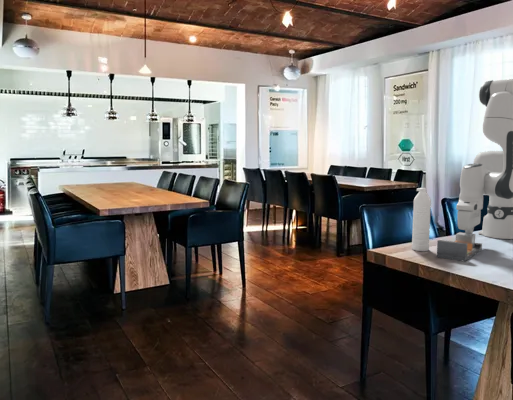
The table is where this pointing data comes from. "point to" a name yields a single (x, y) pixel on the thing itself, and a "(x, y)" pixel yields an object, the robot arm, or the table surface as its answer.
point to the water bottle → (421, 221)
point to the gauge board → (456, 250)
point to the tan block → (465, 238)
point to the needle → (469, 246)
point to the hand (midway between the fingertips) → (468, 237)
